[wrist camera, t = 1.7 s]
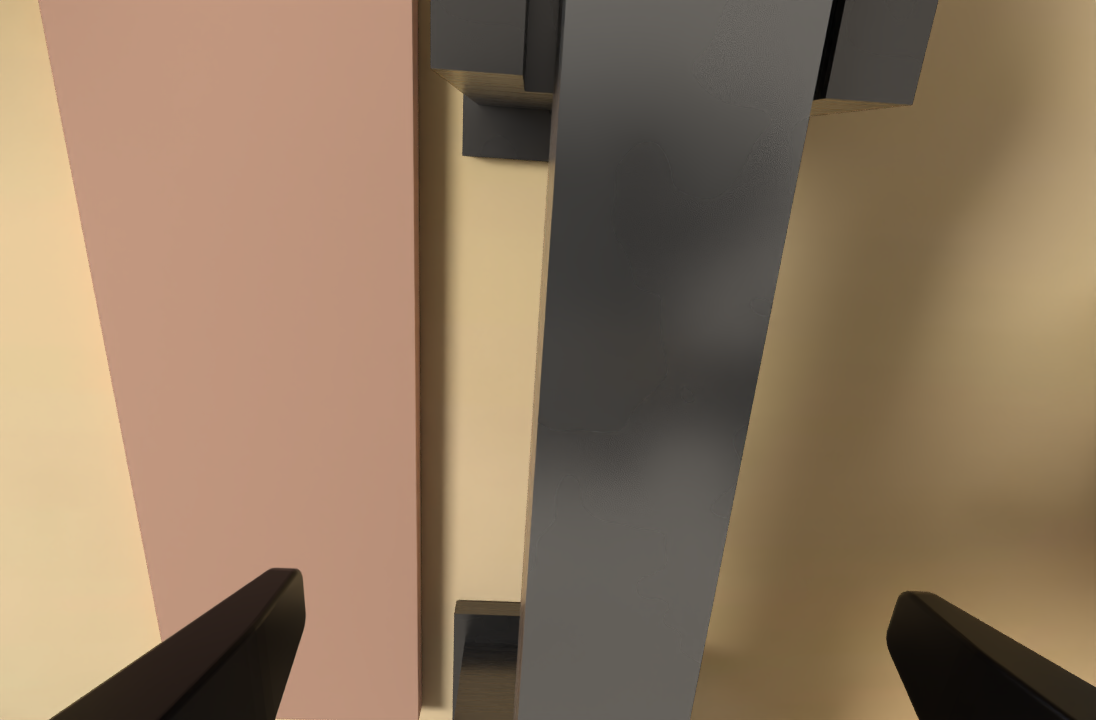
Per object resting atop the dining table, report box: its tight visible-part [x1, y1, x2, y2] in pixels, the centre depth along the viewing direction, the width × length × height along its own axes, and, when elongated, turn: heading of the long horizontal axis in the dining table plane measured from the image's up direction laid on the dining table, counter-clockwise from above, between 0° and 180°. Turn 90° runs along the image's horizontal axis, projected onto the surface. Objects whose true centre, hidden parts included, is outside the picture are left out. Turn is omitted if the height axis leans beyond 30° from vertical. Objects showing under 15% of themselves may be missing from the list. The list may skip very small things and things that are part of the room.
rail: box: [513, 0, 833, 720], centre depth 10 cm, size 26×3×3 cm, turn 176°
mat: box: [38, 0, 422, 720], centre depth 14 cm, size 24×7×1 cm, turn 176°
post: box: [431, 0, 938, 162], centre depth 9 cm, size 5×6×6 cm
